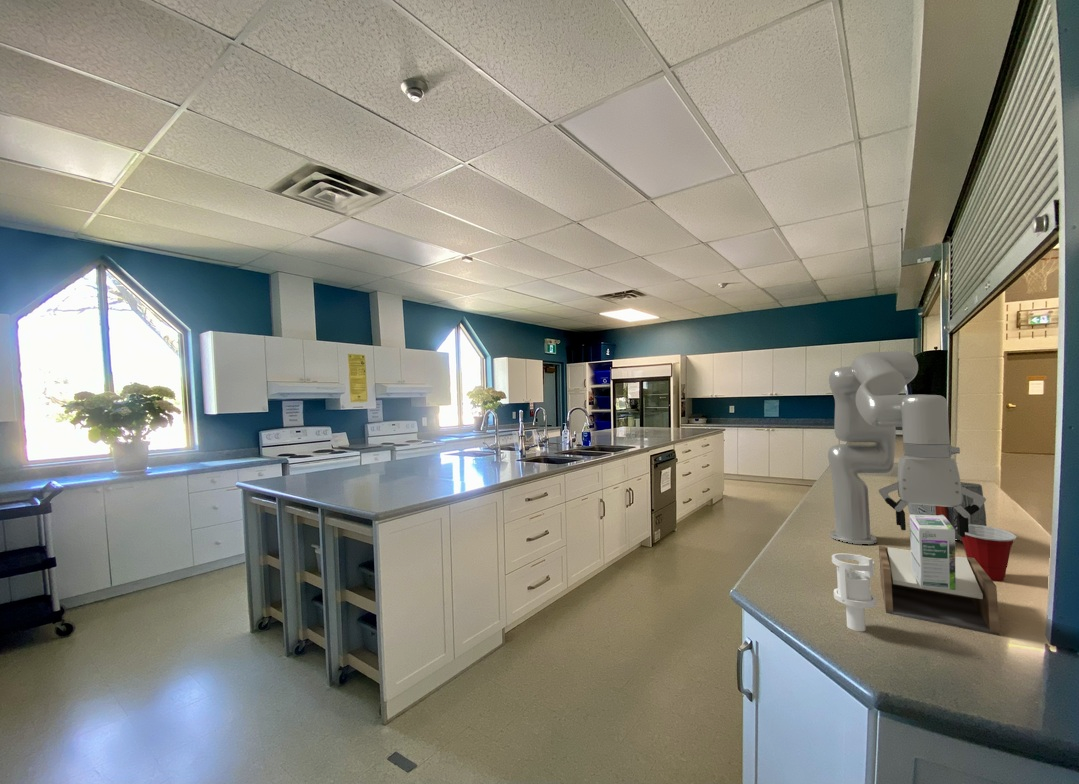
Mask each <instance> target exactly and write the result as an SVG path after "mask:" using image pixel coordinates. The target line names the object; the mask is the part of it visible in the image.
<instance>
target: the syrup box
mask: <svg viewBox="0 0 1079 784" xmlns="http://www.w3.org/2000/svg"><path fill="white" fill-rule="evenodd" d="M909 538H910V550H911V569H912V572H913V574H914V576H915V577H916V579H917V581H918V583H919V585H920V586H921V587H922V588H925V587H927V588H939V589H950V590H955V589H956V582H955V556H956V541H955V529H954V528H953V526H952V525H951V524H950V522H949V521H948V520H947V519H946V517H945V516H944V515H914V514H911V515H910V514H909Z"/></svg>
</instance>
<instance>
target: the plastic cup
mask: <svg viewBox="0 0 1079 784" xmlns="http://www.w3.org/2000/svg"><path fill="white" fill-rule="evenodd" d="M956 528H957V527H956ZM968 528H969V532H968V533H967V532H965V537H961V539H962V541H961V542H962V545H963V549H964V553H965V557H969V558H975V560H976V561H977V562H978V563H979V565H980V566H981V567H982V569H983V570H984V571H985V572H986V574H987V575H988V576H989V577H990V579H991V580H992V581H993V582H1001V581H1002V582H1003V581H1004V580H1005V578H1006V573H1007V568H1008V565H1009V561H1010V560H1009V558H1010V554H1011V549H1012V546H1013V543H1014V541H1016V539H1017V535H1016V534H1014V533H1013V532H1011V531H1008V530H1007V529H1002V528H998V527H994V526H993V527H992V526H989V525H987V526H982V525H968Z"/></svg>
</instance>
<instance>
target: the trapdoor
mask: <svg viewBox="0 0 1079 784" xmlns="http://www.w3.org/2000/svg"><path fill="white" fill-rule="evenodd" d="M886 547H887V548H888V556H889V562H890V568H891V574H892V580H893V584H896V585H902V586H908V587H914V588H920V589H926V590H931V591H937V592H943V593H949V594H955V595H961V596H967V597H973V598H979V599H983V594H982V592H981V590H980V587H979V585H978V583H977V581H976V578H975V576H974V574H973V571H972V569H971V567H970V564H969V562H968V560H967V558H966V557H967V556H960V557H959V555H958V556H957V555H955V582H956V589H955V590H950V589H939V588H927V587H925V588H922V587H921V586H920V585H919V583H918V581H917V579H916V577H915V576H914V574H913V572H912V569H911V549H907V550H905V549H906V548H899V549H898V548H897V547H891V548H890V546H886Z"/></svg>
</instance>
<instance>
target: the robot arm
mask: <svg viewBox="0 0 1079 784" xmlns="http://www.w3.org/2000/svg"><path fill="white" fill-rule="evenodd" d="M850 365H851V366H841V367H838V368H837V367H836V368H835V369H832V370H831V371H830V374H829V375H828V381H829V382H828V383H829V388H830V390H831V392H832V396H833V398H834V423H833V424H834V425H833V427H834V428H833V429H834V434H835V438H836V439H838V440H839V441H841V442H847V443H842V444H836V445H835V444H834V445H833V446H831V447H830V448H829V449H828V453H827V458H828V463H829V468H830V471H831V472H830V473H831V477H832V478H831V479H832V491H833V492H832V493H833V494H832V495H833V509H834V510H833V512H834V513H833V514H834V530H832V531H830V532H829V536H830V538H831V539H833V538H834V539H833V540H835V539H836V541H838V540H840V541H839V542H842V541H843V542H842V543H846V542H848V543H847V544H852V543H853V544H852V545H862V544H868V545H874V543H875V544H876V543H878V538H877V537H876V536H875V535H872V534H871V520H870V518H871V517H870V502H869V488H868V484H867V483H866V482H865V481H864V479H862V478H861V477H860V476H859V474H887V473H890V472H891V471H892V469H894V468H893V467H894V462H895V453H896V452H895V449H896V436H897V434H896V433H897V432H896V431H897V429H896V427H898V428H899V427H900V428H901V429H902V441H903V443H902V445H903V456H899V459H898V465H897V482H895V483H891V484H889V485H887V486H883V487H881V488H879V489H878V493H879V494H880V496H881V497H882V499H883V500H884V501H885V503H886V504H887V505H889V506H890V507H891V508H892V509H893V510H895V519H896V520H895V523H896V526H899V527H900V530H901V531H903V532H905V531H906V530H907V527H906V526H907V525H906V512H905V511H904V509H905V508H906V507H908V506H907V505H908V504H909V503H910V504H920V505H932V506H944V507H954V508H955V509H956V510H957V511H958V514H957V515H956V519H957V533H958V534H959V535H960V536H961V537H965V532H967V533H968V532H969V528H968V518H969V517H970V516H971V515H972V514H974V513H975V512H977V511H978V510H979V508H980V507H981V506H982V505H983V504H984V505H985V502H986V501H987V498H986V497H984V495H983V496H981V495H979V494H977V493H975V492H972V491H970V490H968V489H966V488H964V487H961V482H962V481H961V477H960V472H959V468H958V467H959V466H958V465H957V461H956V459H955V458H952V456H953V455H955V454H957V455H958V454H960V453H961V450H960V447H956V446H952V445H951V444H950V443H951V441H950V439H951V438H950V428H949V427H950V426H949V424H950V423H949V410H948V400H947V398H945V397H944V396H942V395H940V394H939V395H937V394H901V393H902V391H903V390H904V389H905V386H907V385H908V384H909V383H910V382H912V381H913V380H914V379H915V378H916V376H917V374H918V371H919V363H918V361H917V357H916V356H915V355H914V354H912V353H911V352H909V351H905V350H892V351H890V350H889V351H873V352H872V351H871V352H866V353H861V354H860V355H858V356H856V357H855V358H854V359H853V360H852V362H851V364H850ZM860 443H861V444H860ZM862 443H863V444H862ZM865 443H866V444H865ZM867 443H869V444H867ZM872 443H873V444H872ZM895 491H897V495H898V497H899V500H898V501H895V500H894V499H892V498H891V497H890V495H889V494H890V493H892V492H895ZM962 494H964V495H966V496H968V497H970V498H973V502H972V504H970V505H969V506H967V507H966V508H963V507H962V506H961V505H962V503H963V496H962Z"/></svg>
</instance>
